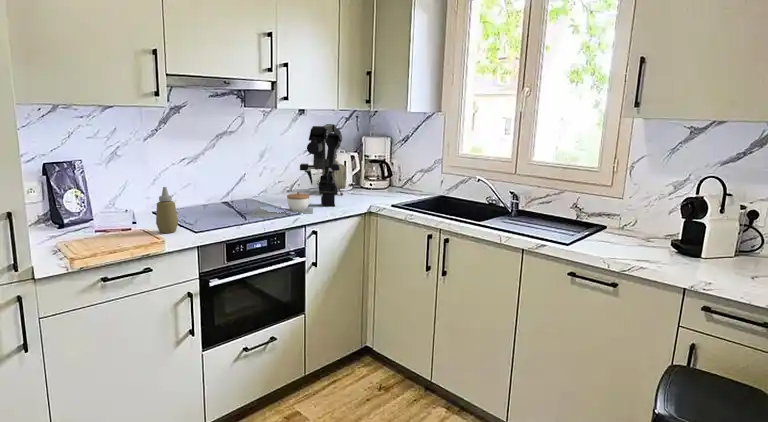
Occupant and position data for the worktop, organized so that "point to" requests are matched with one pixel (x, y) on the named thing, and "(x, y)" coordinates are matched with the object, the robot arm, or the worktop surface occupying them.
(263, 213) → the t mat
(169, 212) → the squeeze bottle
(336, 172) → the olive tall container
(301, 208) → the lidded jar
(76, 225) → the worktop surface
